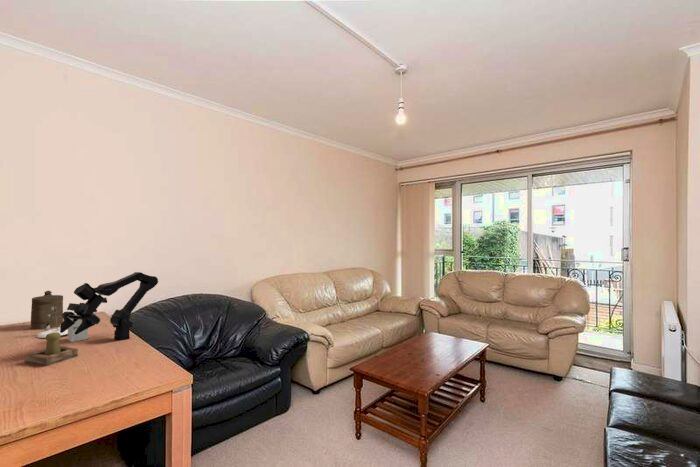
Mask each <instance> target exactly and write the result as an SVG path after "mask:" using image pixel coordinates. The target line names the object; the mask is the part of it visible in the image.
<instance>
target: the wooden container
mask: <svg viewBox="0 0 700 467" xmlns="http://www.w3.org/2000/svg"><path fill="white" fill-rule="evenodd" d="M52 293H53V292H52V291H51V290H45V291H44V295H40V296H34V297H32V298H31V312H30V329H32V330H44V328H45V326H46V325H47V323H49V324H50V329H52V328H57V326H58V327H61V326H60V325H61V324H62V322H63V321H64V319H63V318H62V316H61V315H62V314H63V313H64V295H63V294H59V295H58V294H54V295H53V294H52ZM51 307H56V311H57V312H56V317H57V318H55V315H54V314H52V313H51V312H53V313H55V311H54V310H51ZM47 315H50V317H54V318H49V319H47V317H48V316H47ZM60 316H61V317H60ZM56 320H57V325H56Z"/></svg>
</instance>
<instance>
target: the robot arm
mask: <svg viewBox="0 0 700 467" xmlns="http://www.w3.org/2000/svg"><path fill="white" fill-rule="evenodd" d="M137 281H138V282H140V283H139V287H138V288H137V289H136V291H135V292H134V294H132V296H131V297H130V298H129V300H128V301H127V302H126V303H125V305H124V306H123V307H122V308H121V309H115V310H114V312H113V314H111V315H110V319H109V321H110V324H111V325H112V327H113V328H114V331H113V332H114V336H113V338H114V340H115V341H123V340H130V338H131V337H130V328H132V327H133V324H134V323H133V322H132V321H131V320H130V319H131V315H132V312H133V311H134V310H135V308H136V307H137V306H138V304H139V303H140V302H141V301H142V299H143V297H144V296H145V295H146V294H147V293H148V292H149V291H150V290H153V288H155V287H156V286H157V285H158V284H159V279H158V277H157V276H154V275H149V274H146V273H143V272H142V271H141V272H140V271H139V272H138V271H136V272H133V273H131V274H128V275H127V276H124V277H121V278H120V279H117V280H114V281H109V282H106V283H102V284H99V285H98V286H97V287H93V286H91V284H89V283H87V282H85V283H82V285H79V286H78V287H76V288H75V290H74V291H73V293H74V295H76V296H77V297H78V298H80V299H81V300H83V301H86V302H79V303H72V302H70V303H69V304H68V306H67V308H66V310H67V311H63V314H62V315H61V316H62V318H63V321H64V322H63V325H62V328H61V330H60V333H63V332H64V331H66V330H67V329H68V328H70V327H71V326H72V325H73V324H75V322H76V321H77V320H78V319H81V320H82V323H81V324H80V326H79V327H78V329H77V330H76V331H75V333H74V334H76V335H77V334H78V333H80V332H82V331H84V330H86V329H87V328H88V329H90V328H91V327H93V326H95V325H99V323H100V322H101V318H100V317H98V315H96V313H97V312H98V308H99V307H100V306H101V304H107V303H108V298H107V297H110V296H111V295H113V294H115V293H116V292H117V291H119V290H120V289H121V288H124V287H126V286H128V285H130V284H132V283H135V282H137ZM103 296H105V297H103Z"/></svg>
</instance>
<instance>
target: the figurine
mask: <svg viewBox="0 0 700 467" xmlns="http://www.w3.org/2000/svg"><path fill="white" fill-rule="evenodd" d="M51 310H54V311H55V313H53V312H51V313H52V314H54V315H55V318H57V317H56V312H57V311H56V307H51ZM47 316H48V317H47V319H49V318H54V317H50V315H47ZM60 317H61V316H60ZM63 322H64V320H63ZM63 322H62V324H61V326H58V327H55V328H54V329H51V328H50V324H49V323H47V325H46V326H45V328H44V329H43V330H42V331H40V332H38V333H37V334H36V338H39V339H41V338H42V339H46V335H47V334H49V333H54V332H58V333H60V330H61V328H62V325H63ZM56 325H57V320H56ZM60 335H61V336H64V335H68V329H67V330H66V331H64V332H63V333H60Z"/></svg>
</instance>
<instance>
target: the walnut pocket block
mask: <svg viewBox="0 0 700 467" xmlns="http://www.w3.org/2000/svg"><path fill="white" fill-rule="evenodd" d="M45 350H46V348H45V349H42V350H39V351H35V352H31V353H29V354H25V355H24V363H25V364H29V365H36V366H41V367H49V366H51V365H54V364H58V363H61V362H63V361H66V360H69V359H73V358H76V357H78V356H79V350H78V348H75V347H68V346H61V345H60V350H61V352H59V353H56V354H53V355H49V356H48V355H45Z"/></svg>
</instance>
